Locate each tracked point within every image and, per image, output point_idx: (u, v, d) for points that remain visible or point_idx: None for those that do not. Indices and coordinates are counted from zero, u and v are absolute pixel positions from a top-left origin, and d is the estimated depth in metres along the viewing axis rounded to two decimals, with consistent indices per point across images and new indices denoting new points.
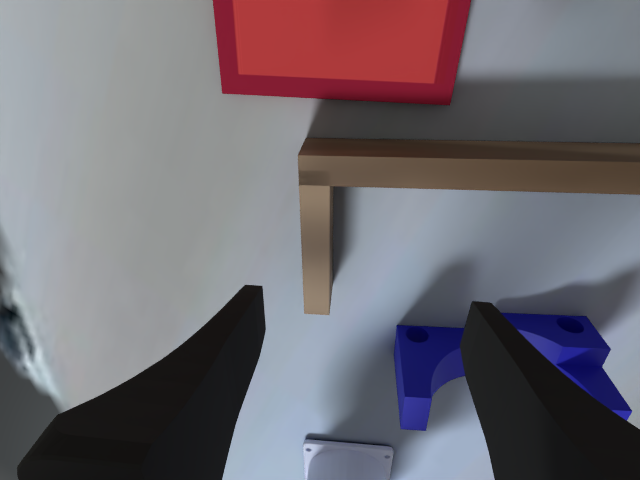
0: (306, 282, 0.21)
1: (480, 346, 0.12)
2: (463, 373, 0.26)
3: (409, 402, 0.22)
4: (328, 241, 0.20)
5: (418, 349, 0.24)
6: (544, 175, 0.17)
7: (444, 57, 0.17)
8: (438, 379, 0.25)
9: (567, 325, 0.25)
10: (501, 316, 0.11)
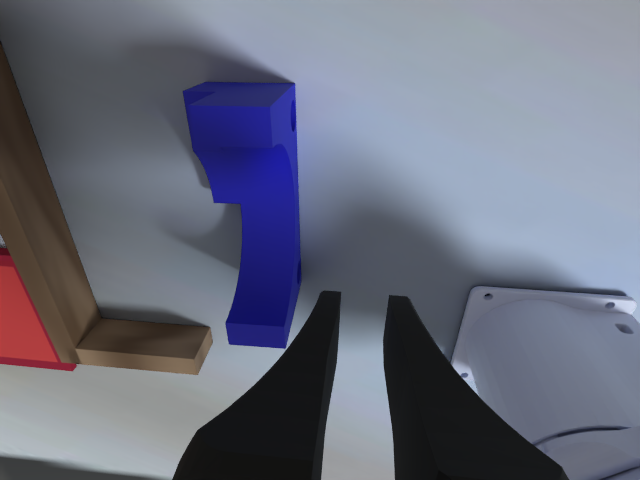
0: (163, 369, 0.26)
1: (391, 339, 0.12)
2: (290, 230, 0.21)
3: (237, 340, 0.20)
4: (120, 353, 0.25)
5: None
6: (5, 219, 0.21)
7: None
8: (272, 273, 0.21)
9: None
10: (411, 309, 0.12)
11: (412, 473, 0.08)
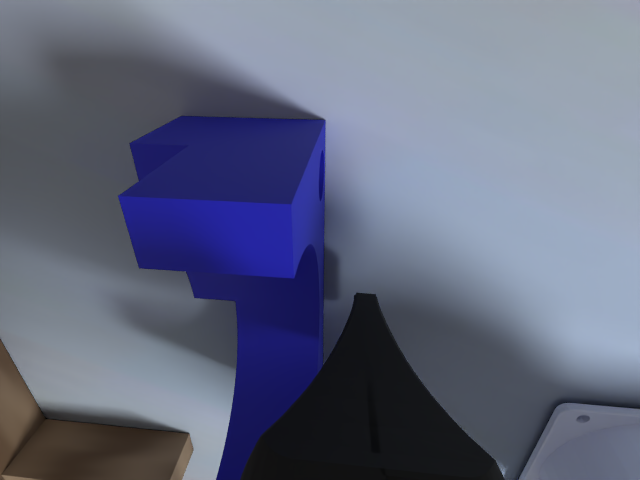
0: None
1: None
2: (311, 340, 0.14)
3: None
4: None
5: None
6: None
7: None
8: (283, 406, 0.14)
9: None
10: (375, 306, 0.12)
11: None
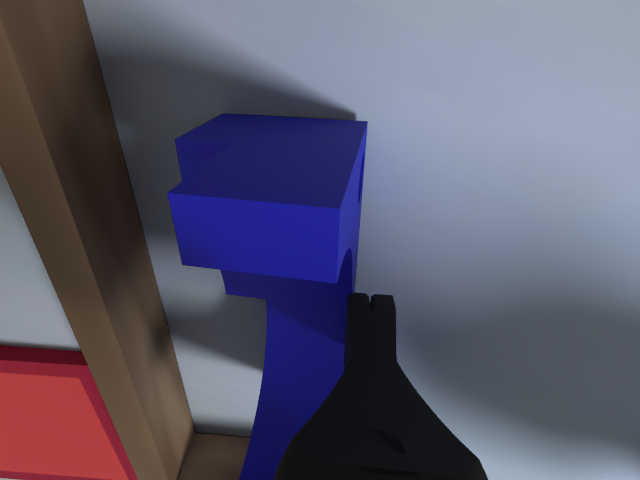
0: None
1: (346, 335, 0.12)
2: (339, 343, 0.14)
3: None
4: None
5: None
6: (97, 342, 0.13)
7: (54, 372, 0.18)
8: (308, 408, 0.14)
9: None
10: (366, 306, 0.12)
11: None
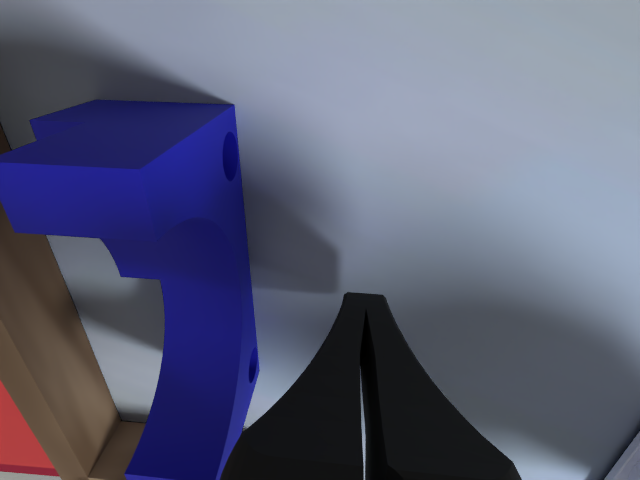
0: None
1: (365, 337, 0.12)
2: (234, 318, 0.14)
3: None
4: None
5: None
6: None
7: None
8: (207, 382, 0.14)
9: None
10: (384, 308, 0.12)
11: (374, 469, 0.08)
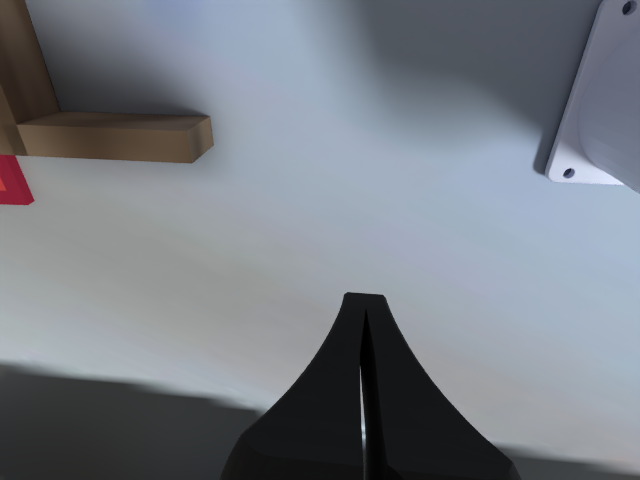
0: (143, 157, 0.18)
1: (365, 337, 0.12)
2: None
3: None
4: (80, 128, 0.17)
5: None
6: None
7: None
8: None
9: None
10: (384, 307, 0.12)
11: (374, 469, 0.08)
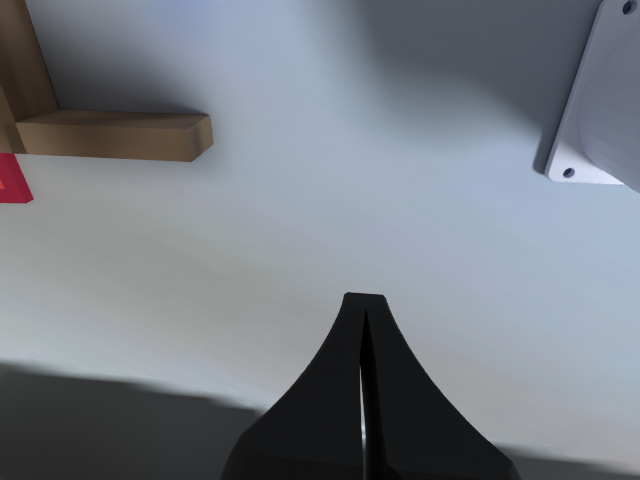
0: (142, 155, 0.18)
1: (365, 337, 0.12)
2: None
3: None
4: (79, 126, 0.17)
5: None
6: None
7: None
8: None
9: None
10: (384, 307, 0.12)
11: (374, 469, 0.08)
